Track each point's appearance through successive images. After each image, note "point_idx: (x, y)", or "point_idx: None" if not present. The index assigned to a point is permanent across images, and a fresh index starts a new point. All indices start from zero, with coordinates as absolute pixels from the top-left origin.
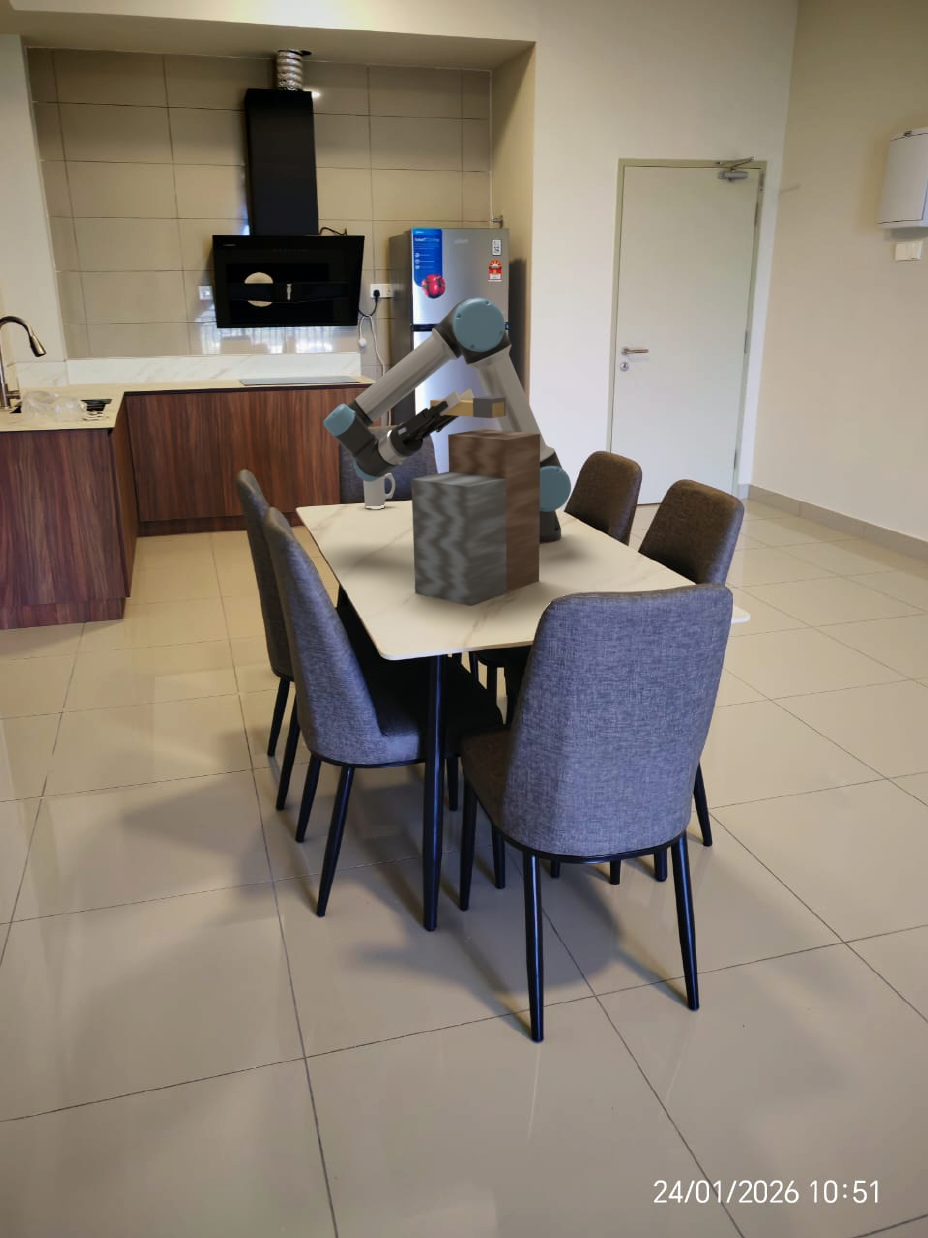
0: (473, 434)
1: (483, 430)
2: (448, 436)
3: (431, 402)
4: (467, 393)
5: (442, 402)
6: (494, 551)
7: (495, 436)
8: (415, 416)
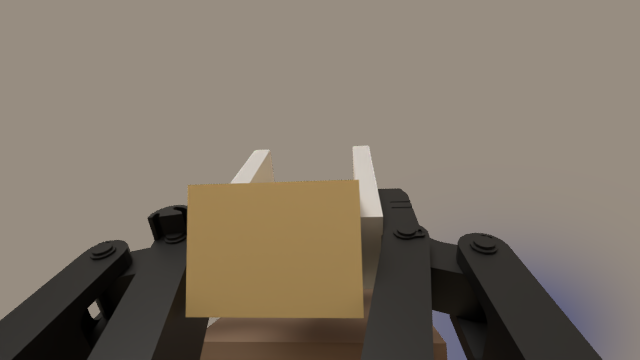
0: (368, 314)
1: (241, 329)
2: (446, 351)
3: (359, 202)
4: (269, 168)
5: (402, 196)
6: None
7: (365, 290)
8: (589, 357)
